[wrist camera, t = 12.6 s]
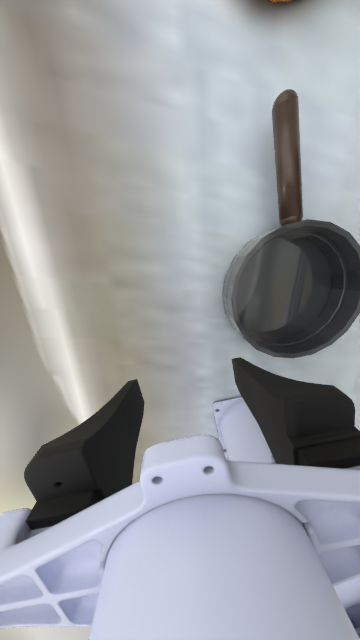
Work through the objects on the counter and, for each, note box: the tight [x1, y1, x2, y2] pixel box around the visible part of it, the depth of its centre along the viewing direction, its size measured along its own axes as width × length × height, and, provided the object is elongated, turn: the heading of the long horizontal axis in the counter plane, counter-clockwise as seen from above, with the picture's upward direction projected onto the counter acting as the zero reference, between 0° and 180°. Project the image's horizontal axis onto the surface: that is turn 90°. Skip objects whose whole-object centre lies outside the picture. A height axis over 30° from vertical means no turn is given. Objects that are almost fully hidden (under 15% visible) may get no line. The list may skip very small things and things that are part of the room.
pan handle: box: [272, 89, 303, 226], centre depth 16 cm, size 10×2×2 cm, turn 12°
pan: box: [222, 220, 360, 358], centre depth 20 cm, size 13×13×4 cm
